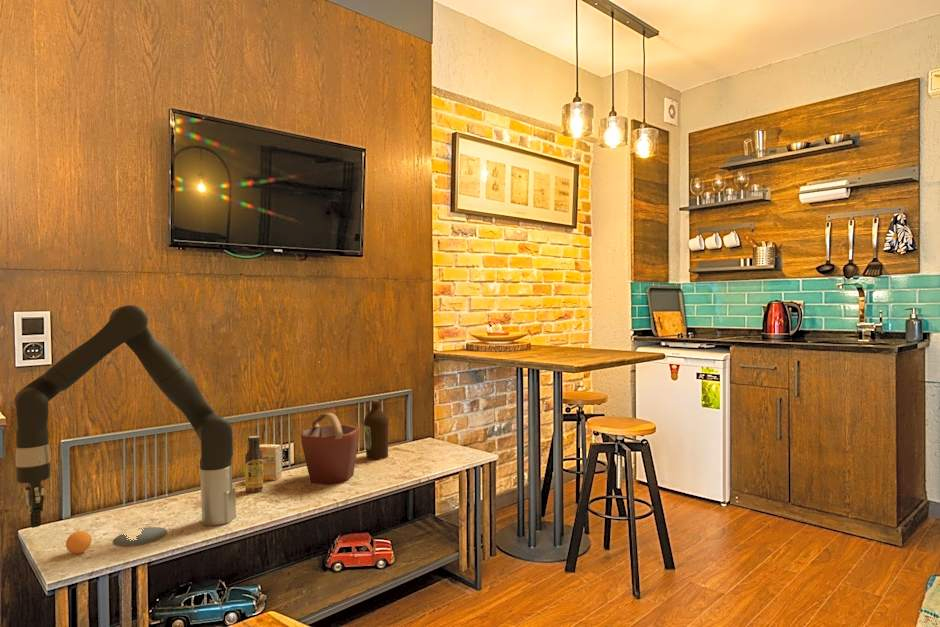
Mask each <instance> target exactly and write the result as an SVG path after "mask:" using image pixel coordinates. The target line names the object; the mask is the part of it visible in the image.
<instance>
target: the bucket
mask: <svg viewBox="0 0 940 627" xmlns="http://www.w3.org/2000/svg"><path fill="white" fill-rule="evenodd" d="M325 417H328V419H329V420H330V422H331V424H332V425H320V424H319V422H321V421H322V420H324V419H325ZM311 426H312V427H311V428H307V429H306V428H305V429H302V430H300V440H301V441H300V442H301V446H302V450H303V456H304V459H305V460H304V461H305V464H306V468H307V472H308V477H309V482H310V484H312V485H321V486H322V485H325V486H329V485H335V484H341V483H346V482H348V481H349V480H350V479H351V478H352V477H353V476H354V474H355V473H354V472H355V467H356V459H357V453H358V448H359V441H360V427H357V426H354V425H353V426H352V425H349V424H341V422H340V419H339V418H338V416H337V415H336V414H335V413H333V412H325V413H324V412H323V413H320V414H319V415H318V416H317V417H315V419H314V420H313V421H312V422H311Z"/></svg>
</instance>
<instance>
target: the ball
mask: <svg viewBox="0 0 940 627" xmlns="http://www.w3.org/2000/svg"><path fill="white" fill-rule="evenodd" d="M91 543H92V536H91V535H90V533H89V532H87V531H85V530H78V531H75V532H73V533H71V534H70V535H69V536H68V537H67V539H66V541H65V546H66V549H67V550H68V552H69V553H70V554H71V553H72V554H76V555H77V554H82V553H84V552H86V551H87V550H89V548H90V546H91V545H92V544H91Z"/></svg>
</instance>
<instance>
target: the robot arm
mask: <svg viewBox="0 0 940 627" xmlns="http://www.w3.org/2000/svg"><path fill="white" fill-rule="evenodd" d="M148 318H149V317H148V314H147V313H146V311H145V310H144V309H143V308H141V307H139V306H137V305H133V304H128V305H126V304H125V305H122V306H120V307H117V308H115V309H114V310H112V312H111V313H110V316H109V319H108V322H107V323H106V324H105V325H104V326H103V327H102V328H101V329H100V330H98V332H96V333H95V334H94V335H93V336H92V337H90V338H89V339H88V340H86V341H85V342H83V343H82V344H81V345H78V347H76V348H75V349H73V350H72V351H70V352H68V353H67V354H66V355H65V356H63V357H62V358H61V359H59V361H58V362H56V363H54V365H52V366H51V367H49V368H48V369H47V370H46V371H45V372H44V373H43V374H41V376H39V377H37V378H36V379H34V380H33V381H31V382H29V383H28V384H27V385H26V386H24V387H23V388H21V389H20V391H18V392H17V393H16V394H15V396H14V401H13V402H14V403H13V404H14V406H15V409H16V423H17V428H16V433H15V441H16V443H15V444H16V451H15V475H16V477H15V478H16V482H17V484H18V483H19V484H26V487H24V490H23V492H24V494H25V503H26V505H27V506H26V508H27V509H28V510H27V512H28V513H29V525H30V527H31V529H34V528H38V527H41V524H42V520H41V519H42V516H41V513H42V512H43V511H44V508H43V507H44V501H45V500H44V499H45V496H44V494H45V486H43V484H42V481H46V480H48V479H49V478H51V476H52V465H51V450H50V445H49V444H50V443H49V442H50V441H49V428H48V420H49V402H50V401H51V400H52V399H54V398H55V397H56V396H57V395H59V394H60V393H61V392H64V391H66V390H67V389H69V388H70V387H71V386H73V385H74V384H75V383H77V382H78V381H79V380H80V379H81V378H83V377H84V376H85V375H86V374H87V373H88V372H89V371H90V370H91V369H92V368H94V367H95V366H96V365H97V364H99V363H100V361H101V360H103V359H105V357H106V356H108V355H109V354H110V353H111V352H112V351H113V352H114V350H115V349H117V348H119V347H120V346H121V345H123V344H124V343H125V345H126V346H127V347H129V349H130V350H131V351H132V352H133V353H134V354H135V356H136V357H137V359H138V360H139V362H140V364H141V365H142V367H143V368H144V370H145V371H146V372H147V374H148V375H149V376H150V378H151V379H152V381H153V382H154V383H155V384H156V386H157V387H158V388H159V390H160V391H161V392H162V393H163V395H165V397H166V398H167V399H168V400H169V401H170V402H171V403H172V404H173V405H174V406H176V408H177V409H179V411H180V412H182V414H183V415H184V416H185V418H186V419H187V421H188V422H189V424H190V425H191V427H192V428H193V430H194V431H195V433H196V435H197V437H198V438H199V440H200V444H201V446H200V448H201V453H200V454H201V456H200V459H199V474H200V476H199V478H200V479H199V480H200V497H201V498H200V500H201V503H200V504H201V522H202V525H204V526H218V525H223V524H230V523H231V521H233V520H234V519H235V518H237V504H236V501H237V500H236V488H235V487H234V486H233V473H232V472H233V471H232V470H233V469H232V467H233V466H232V459H233V455H234V448H233V447H234V446H233V445H234V443H233V440H234V437H233V436H234V434H233V428H232V425H231V423H230V421H229V420H227V419H226V418H224V417H222V416H221V415H219V413H218V412H217V411H215V409H213V407H212V406H211V405H210V404H209V403H208V402H207V400H206V399H205V398H204V396H203V395H202V392H201V390H200V389H199V387H198V384H197V383H196V381H195V379H194V378H193V375H191V373H190V372H189V370H188V369H187V368H186V366H185V365H184V364H183V363H182V362H181V361H180V360H179V359H178V357H177V356H176V355H174V353H172V352H171V350H169V349H168V348H167V347H166V346H165V345H163V344H162V343H161V342H160V341H159V340H158V339H157V338H156V337H155V336H156V335H154V334H153V332H152V330H151V329H150V327H149V326H148V323H149V319H148Z"/></svg>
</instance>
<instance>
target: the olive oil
mask: <svg viewBox="0 0 940 627" xmlns="http://www.w3.org/2000/svg"><path fill="white" fill-rule="evenodd" d="M363 430H364V442H365V452H366V453H365V455H366V459H368V460H373V461H374V460H382V459H383V460H384V459H386V458H388V457H389V418H388V415H387V414H385V413H384V411H383V410H381V408H380V400H379V399H372V400H371V409H370V411H369V412H368V413H367V414H366V415H365V418H364V420H363Z"/></svg>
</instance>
